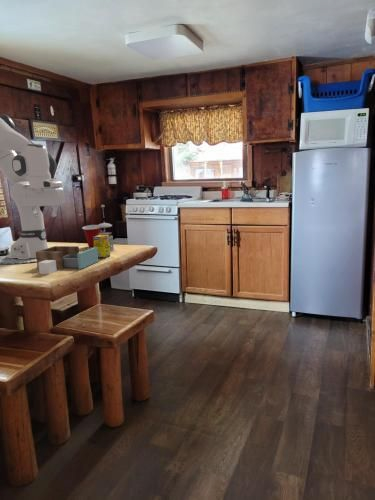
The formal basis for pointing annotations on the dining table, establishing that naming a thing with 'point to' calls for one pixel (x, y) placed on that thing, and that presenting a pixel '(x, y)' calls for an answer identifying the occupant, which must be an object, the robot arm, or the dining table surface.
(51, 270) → the block
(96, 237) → the yellow cylinder
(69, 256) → the tray
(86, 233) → the plastic cup
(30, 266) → the dining table surface
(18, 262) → the dining table surface
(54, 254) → the brown wooden crate
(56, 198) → the robot arm
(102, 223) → the french press
